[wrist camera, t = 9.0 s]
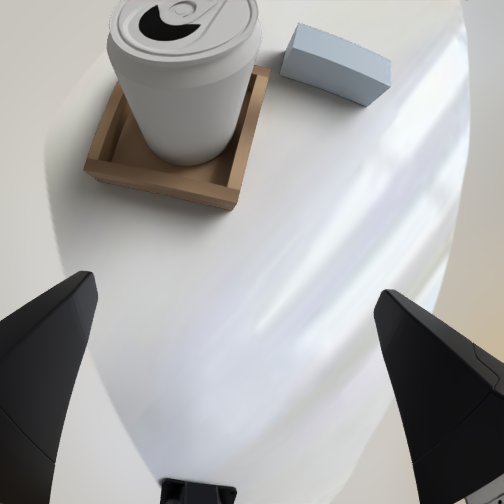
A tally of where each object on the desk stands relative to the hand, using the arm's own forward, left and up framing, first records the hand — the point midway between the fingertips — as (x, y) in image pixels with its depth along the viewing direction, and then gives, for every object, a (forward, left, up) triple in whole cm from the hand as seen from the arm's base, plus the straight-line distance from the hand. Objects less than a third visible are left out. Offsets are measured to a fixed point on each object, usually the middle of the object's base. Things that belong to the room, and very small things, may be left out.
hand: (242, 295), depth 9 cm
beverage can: (+9, +5, -12) cm, 16 cm away
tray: (+9, +5, -12) cm, 16 cm away
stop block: (+18, -5, -12) cm, 22 cm away
